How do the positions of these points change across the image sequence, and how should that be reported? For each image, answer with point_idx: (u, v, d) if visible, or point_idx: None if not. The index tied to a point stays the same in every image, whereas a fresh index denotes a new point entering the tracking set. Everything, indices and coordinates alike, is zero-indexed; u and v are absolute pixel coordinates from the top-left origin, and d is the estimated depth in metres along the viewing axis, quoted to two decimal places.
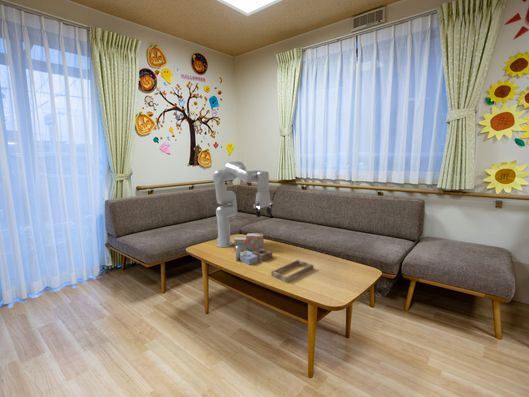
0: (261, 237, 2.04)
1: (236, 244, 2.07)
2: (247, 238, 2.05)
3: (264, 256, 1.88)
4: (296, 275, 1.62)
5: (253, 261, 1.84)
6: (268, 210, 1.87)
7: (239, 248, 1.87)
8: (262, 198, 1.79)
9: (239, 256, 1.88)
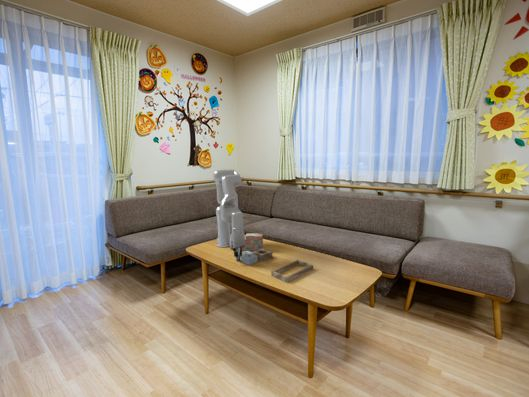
0: (260, 237, 2.04)
1: None
2: (246, 238, 2.05)
3: (264, 256, 1.88)
4: (296, 275, 1.62)
5: (253, 261, 1.84)
6: (240, 251, 1.89)
7: (239, 248, 1.87)
8: (236, 238, 1.83)
9: (239, 256, 1.88)
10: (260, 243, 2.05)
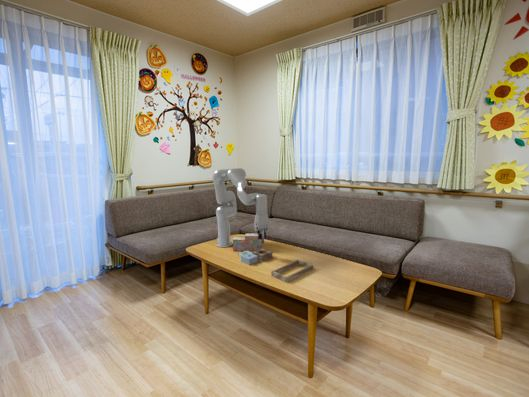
0: None
1: (235, 244, 2.06)
2: (246, 238, 2.05)
3: (264, 256, 1.88)
4: (296, 275, 1.62)
5: (253, 261, 1.84)
6: None
7: (263, 230, 1.90)
8: (261, 220, 1.86)
9: (263, 238, 1.91)
10: (259, 243, 2.05)
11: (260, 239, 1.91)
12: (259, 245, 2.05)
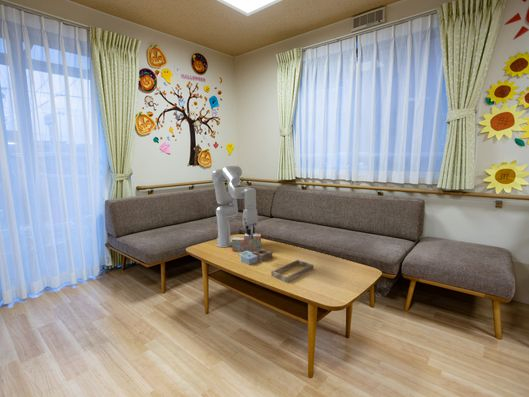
0: (259, 237, 2.04)
1: (234, 244, 2.06)
2: (245, 238, 2.05)
3: (264, 256, 1.88)
4: (296, 275, 1.62)
5: (253, 261, 1.84)
6: None
7: (252, 226, 1.83)
8: (249, 215, 1.79)
9: (252, 234, 1.84)
10: (258, 243, 2.05)
11: (249, 235, 1.84)
12: (258, 245, 2.05)
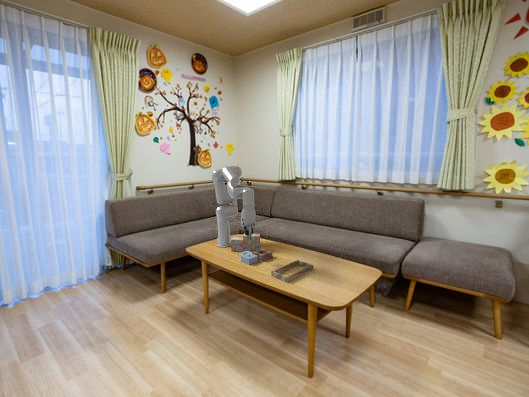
0: (258, 237, 2.04)
1: (233, 244, 2.06)
2: (244, 238, 2.05)
3: (264, 256, 1.88)
4: (296, 275, 1.62)
5: (253, 261, 1.84)
6: None
7: (250, 226, 1.82)
8: (247, 216, 1.78)
9: (250, 234, 1.83)
10: (258, 243, 2.05)
11: None
12: (257, 245, 2.05)
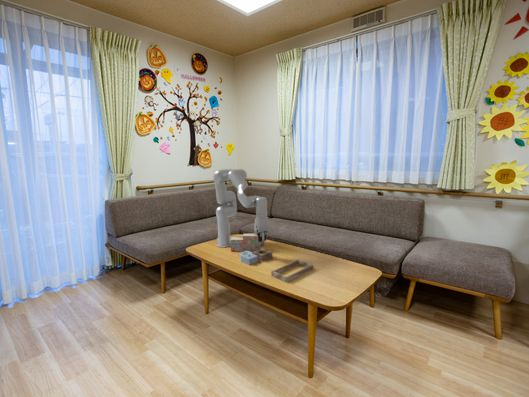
0: None
1: (232, 244, 2.06)
2: (244, 238, 2.05)
3: (264, 256, 1.88)
4: (296, 275, 1.62)
5: (253, 261, 1.84)
6: None
7: (263, 233, 1.90)
8: (261, 223, 1.86)
9: (263, 241, 1.91)
10: (257, 243, 2.05)
11: (260, 242, 1.91)
12: (257, 245, 2.05)
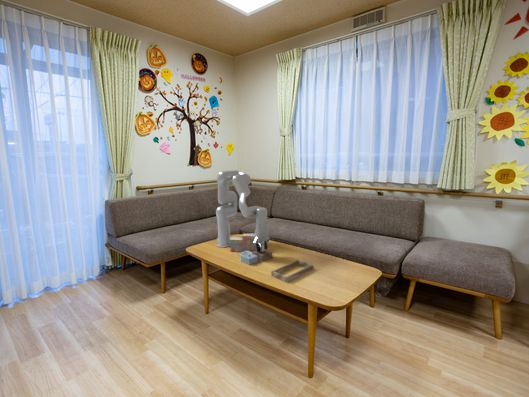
0: None
1: (232, 245, 2.06)
2: (243, 238, 2.05)
3: (264, 256, 1.88)
4: (296, 275, 1.62)
5: (253, 261, 1.84)
6: (265, 245, 1.95)
7: (263, 245, 1.92)
8: (261, 234, 1.88)
9: None
10: None
11: None
12: None
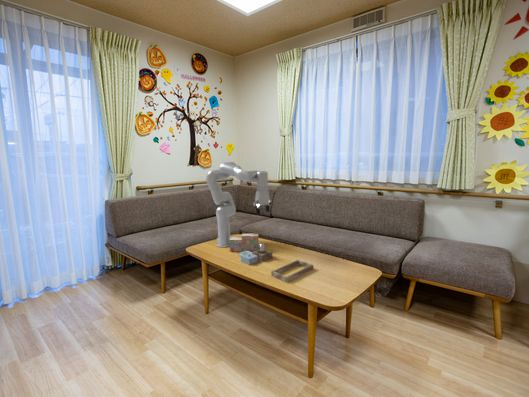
0: (257, 237, 2.04)
1: (231, 245, 2.05)
2: (242, 238, 2.04)
3: (264, 256, 1.88)
4: (296, 275, 1.62)
5: (253, 261, 1.84)
6: (267, 208, 1.99)
7: (263, 245, 1.92)
8: (262, 196, 1.91)
9: None
10: (256, 243, 2.05)
11: None
12: (256, 245, 2.05)
